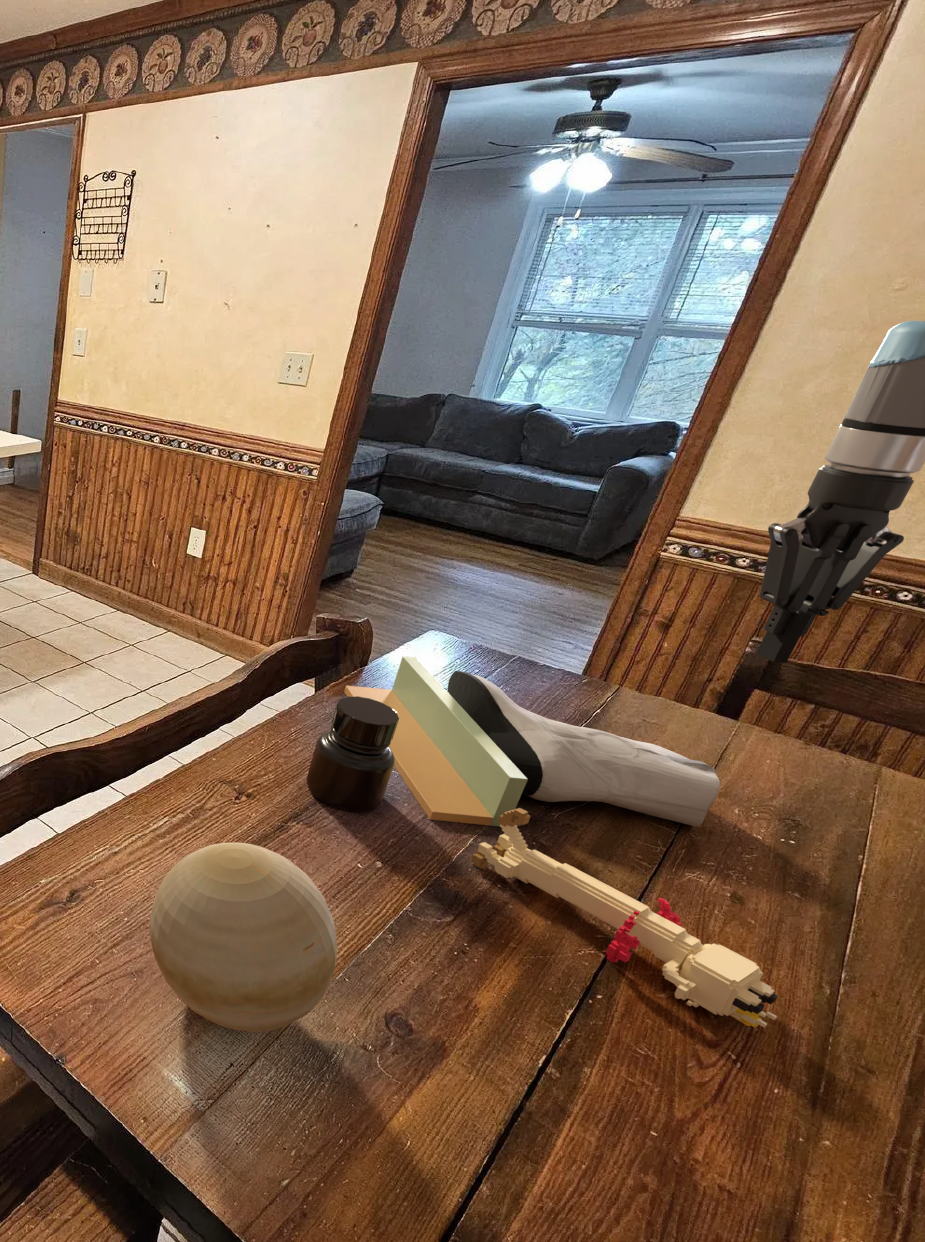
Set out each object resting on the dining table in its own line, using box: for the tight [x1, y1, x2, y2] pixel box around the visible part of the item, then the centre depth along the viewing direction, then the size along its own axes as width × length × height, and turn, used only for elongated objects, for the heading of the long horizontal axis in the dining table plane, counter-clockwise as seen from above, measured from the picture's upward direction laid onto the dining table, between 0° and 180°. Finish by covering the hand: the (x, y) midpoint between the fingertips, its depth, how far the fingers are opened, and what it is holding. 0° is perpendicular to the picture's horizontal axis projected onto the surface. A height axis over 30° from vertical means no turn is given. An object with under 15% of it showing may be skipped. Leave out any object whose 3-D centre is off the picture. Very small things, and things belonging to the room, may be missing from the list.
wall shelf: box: [343, 656, 528, 827], centre depth 108 cm, size 9×32×7 cm, turn 174°
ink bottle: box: [306, 696, 399, 813], centre depth 97 cm, size 10×9×12 cm
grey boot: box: [447, 670, 721, 828], centre depth 106 cm, size 10×28×25 cm
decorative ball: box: [149, 841, 338, 1033], centre depth 67 cm, size 15×15×15 cm
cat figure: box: [470, 807, 779, 1029], centre depth 78 cm, size 10×9×25 cm
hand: (770, 657), depth 99 cm, fingers closed
